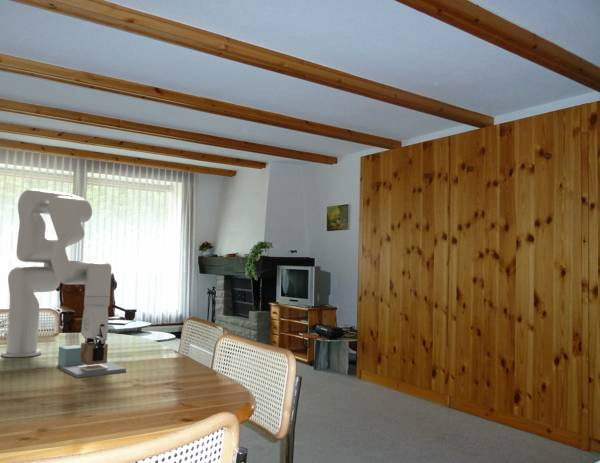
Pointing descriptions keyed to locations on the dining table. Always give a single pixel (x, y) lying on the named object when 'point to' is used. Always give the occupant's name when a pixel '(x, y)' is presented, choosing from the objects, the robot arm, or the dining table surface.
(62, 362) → the teal block
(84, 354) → the walnut block
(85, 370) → the grey flat slab
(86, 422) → the dining table surface
